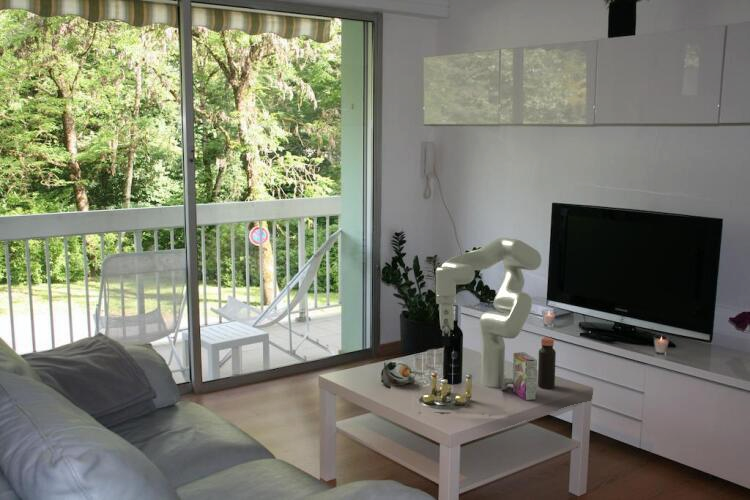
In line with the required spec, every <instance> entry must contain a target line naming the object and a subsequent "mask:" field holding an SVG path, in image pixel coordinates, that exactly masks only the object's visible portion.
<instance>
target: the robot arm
mask: <svg viewBox="0 0 750 500" xmlns="http://www.w3.org/2000/svg"><path fill="white" fill-rule="evenodd" d="M501 261H502V262H503V263H502V264H503V266H504V278H503V281H502V283H501V285H500V286H499V287H498V290H497V292H496V295H495V297H494V299H493V307H494V309H496V310H498V311H496V310H494V311H493V310H487V311H485V312H483V313H482V314H481V315H480V318H479V320H478V321H479V323H478V325H479V331H480V335H481V336H480V338H481V354H480V357H481V358H480V361H481V362H480V368H481V369H480V385H482V386H484V387H487V388H500V389H501V392H504V391H507V389H508V388H509V385H513V377H512V378H507V377H506V374H505V371H506V370H505V369H506V368H505V367H506V364H505V363H506V361H505V360H506V344H505V341H504V340H505V339H509V340H513V339H515V338H517V337H518V336H519V335H520V333H521V331H522V329H523V327H524V325H525V323H526V321H527V319H528V317H529V315H530V312H531V310H532V306H533V305H532V304H533V301H532V298H531V296H530V294H528V293H526V292H523V288H524V286H525V277H524V274H523V271H522V270H526V271H535V270H537V269H539V268H540V266H541V263H542V255H541V253H540V252H539V251H538V250H537V249H535V248H534V247H532V246H531V245H529V244H528V243H526V242H524V241H522V240H519V239H518V238H509V237H507V238H506V237H499V238H495V239H494V240H492V241H491V242H489V243H487V244H485V245H484V246H482V247H480V248H478V249H475V250H471V251H467V252H464V253H459V254H457V255H455V256H453V257H450V258H449V259H447V260H446V261H444V262H443V263H442V264H441V265H440V266H438V267H437V268H436V270H435V301H436V302H435V303H436V304H437V305H439V310H438V311H439V325H440V330H441V347H451V339H452V338H451V336H452V335H451V331H454V321H455V320H454V305H455V304H456V303H457V285H468V284H470V283H472V281H474V279H475V278H476V277H475V276H476V272H475V271H482V270H483V271H484V270H487V269H490V268H492V267H494V266H495V265H496V264H498V263H500V262H501Z"/></svg>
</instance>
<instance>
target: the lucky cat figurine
mask: <svg viewBox="0 0 750 500" xmlns="http://www.w3.org/2000/svg"><path fill="white" fill-rule="evenodd" d="M380 376H381V377H380V378H381V379H380V382H382V384H383V385H384V387H387V388H391V387H392V386H404V385H408V384H412V383H414V381H415V377H416V376H417V371H415V370H412V367H411V366H410V365H409V364H408V363H406V361H403V360H398V359H396V360H395V359H394V360H391V361H389V360H388V359H387V360H385V361H384V363H383V368H382V369H381V372H380Z"/></svg>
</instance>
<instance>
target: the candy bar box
mask: <svg viewBox="0 0 750 500" xmlns="http://www.w3.org/2000/svg"><path fill="white" fill-rule="evenodd" d="M537 361H538V360H537V358H535V357H532V356H531V355H530V354H528V353H526V352H524V351H523V352H522V351H521V352H520V351H519V352H514V353H513V364H512V365H513V372H512V374H513V376H512V379H513V384H512V385H513V386H512V392H513V393H514V394H515V395H517V396H519V397H520V398H521V399H523V400H524V401H534V400H537V376H538V368H537V365H538V362H537Z"/></svg>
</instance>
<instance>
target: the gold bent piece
mask: <svg viewBox="0 0 750 500" xmlns="http://www.w3.org/2000/svg"><path fill="white" fill-rule="evenodd" d="M465 378H466V380H465V381H466V382H465V383H466V384H465V385H466V391H465V393H463V394H462V393H461V394H460V393H459V394H460V395H456V396H455V404H456V405H466V404H467V398H470V399H472V390H473V389H472V381H473V374H469V373H468V374H466V375H465Z"/></svg>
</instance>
